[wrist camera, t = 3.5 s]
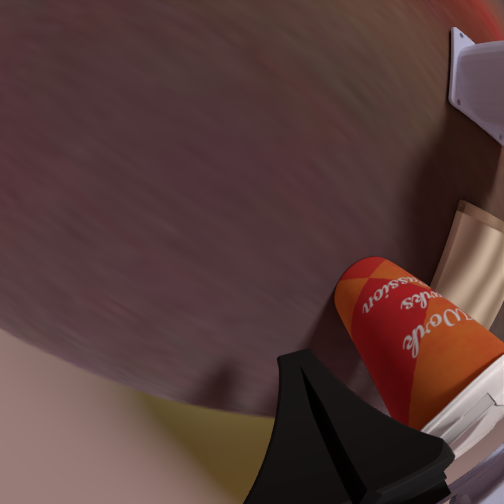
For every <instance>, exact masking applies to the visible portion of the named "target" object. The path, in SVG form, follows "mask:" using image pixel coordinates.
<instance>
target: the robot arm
mask: <svg viewBox="0 0 504 504" xmlns="http://www.w3.org/2000/svg"><path fill="white" fill-rule="evenodd" d="M457 101H458V103H457ZM449 102H450V104H451V105H453V106H454V107H455V108H457V109H458V110H460V111H461V112H462V113H464V114H465V115H466V116H467V117H469V118H470V119H471V120H473V121H474V122H475V123H476V124H478V125H479V126H480V127H481V128H482V129H484V130H485V131H486V132H487V133H488V134H490V135H491V136H492V137H493V138H494V139H495V140H496V141H497V142H499V143H500V144H501V145H502V146H504V40H503V41H495V42H488V43H481V44H475V43H474V42H473V41H471V40H470V39H469V38H468V37H467V36H466V35H464V34H463V33H462V32H461V31H460V30H459V29H457V28H456V27H454V28H452V29H451V72H450V87H449ZM277 362H278V367H279V394H278V404H277V410H276V417H275V423H274V427H273V431H272V435H271V439H270V442H269V445H268V449H267V452H266V455H265V458H264V460H263V463H262V466H261V468H260V470H259V473H258V475H257V477H256V480H255V482H254V484H253V486H252V488H251V490H250V492H249V494H248V496H247V497H246V499H245V501H244V503H243V504H443V503H445V502H446V501H448V500H449V499H451V500H450V502H449V504H504V443H503V444H502V445H501V446H500V447H499V448H497V449H496V450H495V451H494V452H493V453H491V454H490V455H489V456H488V457H487V458H485V459H484V460H483V461H482V462H480V463H479V464H478V465H476V466H475V467H474V468H472V469H471V470H470V471H468V472H467V473H466V474H464V475H463V476H461V477H460V478H459V479H457V480H456V481H454V482H453V483H451V484H450V485H448V486H447V484H446V482H445V479H446V478H447V477H446V475H445V473H444V470H445V469H446V468H447V467H448V466H449V465H450V464H451V463H452V462H453V461H454V459H455V454H454V452H453V451H452V449H451V448H450V447H449V445H448V444H447V443H446V442H445V441H444V440H443V439H442V438H440V437H436V436H433V435H430V434H427V433H424V432H421V431H419V430H416V429H414V428H411V427H409V426H407V425H405V424H403V423H401V422H399V421H397V420H395V419H393V418H391V417H389V416H387V415H385V414H384V413H382V412H380V411H379V410H377V409H375V408H374V407H372V406H371V405H369V404H368V403H367V402H365V401H364V400H362V399H361V398H360V397H358V396H357V395H356V394H355V393H353V392H352V391H351V390H350V389H349V388H347V387H346V386H345V385H344V384H343V383H342V382H341V381H340V380H339V379H337V378H336V377H335V376H334V375H333V374H332V373H331V372H330V371H329V370H328V369H327V368H326V366H325V365H324V364H323V363H322V362H321V361H320V360H319V359H318V357H317V356H316V355H315V354H314V352H313V351H312V350H311V349H309V348H308V349H304V350H300V351H297V352H293V353H289V354H285V355H281V356H279V357H278V358H277Z"/></svg>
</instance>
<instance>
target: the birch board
mask: <svg viewBox="0 0 504 504" xmlns="http://www.w3.org/2000/svg"><path fill="white" fill-rule="evenodd" d="M430 288H432V289H433V290H435V291H436V292H437V293H439V294H440V295H442V296H443V297H445V298H446V299H447V300H449V301H450V302H451V303H453V304H454V305H456V306H457V307H458V308H460V309H461V310H462V311H464V312H465V313H466V314H468V315H469V316H470V317H472V318H473V319H474V320H475V321H477V322H478V323H479V324H481V325H482V326H483V327H484V328H486V329H487V330H489V328H490V326H491V325H492V323H493V321H494V319H495V317H496V315H497V313H498V311H499V309H500V307H501V305H502V302H503V300H504V222H503V221H501V220H499V219H498V218H496V217H494V216H493V215H491V214H489V213H487V212H485V211H484V210H482V209H480V208H478V207H476V206H474V205H472V204H470V203H469V202H466V201H464V200H461V199H459V203H458V207H457V210H456V214H455V217H454V221H453V224H452V227H451V230H450V233H449V236H448V239H447V242H446V245H445V248H444V251H443V254H442V256H441V259H440V262H439V264H438V267H437V269H436V272H435V274H434V277H433V279H432V282H431V284H430Z"/></svg>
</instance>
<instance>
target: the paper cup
mask: <svg viewBox="0 0 504 504" xmlns="http://www.w3.org/2000/svg"><path fill="white" fill-rule="evenodd" d="M334 302H335V306H336V309H337V311H338V313H339V316H340V317H341V319H342V321H343V323H344V325H345V327H346V329H347V331H348V333H349V335H350V337H351V339H352V341H353V342H354V344H355V346H356V348H357V350H358V352H359V354H360V356H361V358H362V360H363V362H364V364H365V366H366V367H367V369H368V371H369V373H370V375H371V377H372V379H373V381H374V383H375V385H376V387H377V389H378V391H379V393H380V395H381V397H382V399H383V401H384V403H385V405H386V407H387V409H388V411H389V414H390V416H391V418H393V419H395V420H397V421H399V422H401V423H403V424H405V425H407V426H409V427H411V428H414V429H416V430H419V431H421V432H424V433H427V434H430V435H433V436H436V437H440V438H442V439H443V440H444V441H445V442H446V443H447V444H448V445H449V447H450V448H451V449H452V451H453V452H454V454H455V459H456V458H458V457H459V456H461V455H462V454H463V453H465V452H466V451H467V450H469V449H470V448H471V447H473V446H474V445H475V444H476V443H477V442H479V441H480V440H481V439H482V438H483V437H484V436H485V435H486V434H488V433H489V432H490V431H491V430H492V429H493V428H494V427H495V424H496V423H497V421H500V420H501V419H502V418H503V417H504V343H503V342H502V341H501V340H499V339H498V338H497V337H496V336H495V335H493V334H492V333H491V332H490V331H488V330H487V329H486V328H484V327H483V326H482V325H481V324H479V323H478V322H477V321H475V320H474V319H473V318H472V317H470V316H469V315H468V314H466V313H465V312H464V311H462V310H461V309H460V308H458V307H457V306H456V305H454V304H453V303H451V302H450V301H449V300H447V299H446V298H445V297H443V296H442V295H440V294H439V293H437V292H436V291H435V290H433V289H432V288H430V287H429V286H427V285H426V284H425V283H423V282H422V281H420V280H419V279H417V278H416V277H414V276H413V275H411V274H410V273H408V272H407V271H405V270H404V269H402V268H400V267H399V266H397V265H396V264H394V263H392V262H390V261H389V260H387V259H385V258H382V257H377V256H372V257H367V258H364V259H361V260H359V261H357V262H356V263H354V264H353V265H351V266H350V267H349V268H348V269H347V270H346V271H345V272H344V274H343V275H342V276H341V278H340V280H339V281H338V284H337V286H336V289H335V294H334ZM455 459H454V460H455Z"/></svg>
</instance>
